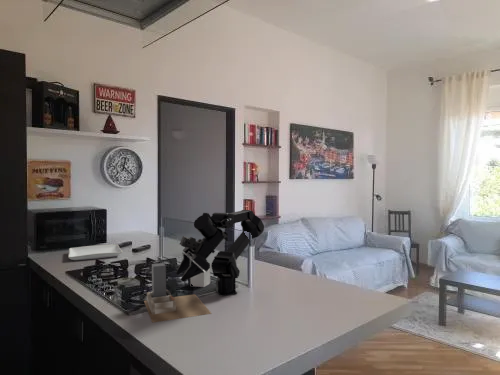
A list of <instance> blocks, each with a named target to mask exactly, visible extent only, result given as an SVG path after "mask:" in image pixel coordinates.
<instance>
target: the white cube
mask: <svg viewBox="0 0 500 375" xmlns="http://www.w3.org/2000/svg"><path fill="white" fill-rule="evenodd" d="M203 271H204V273H200V274H198V275H196V276H194V277H191V278H189V279H190V285H191V284H192V285H193V286H192V287H198V288H199V287H201V288H205V287H206V286H208V285H210V284H211V268H209V270H208V271H207V272H206V271H205V270H204V269H203Z"/></svg>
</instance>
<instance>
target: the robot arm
mask: <svg viewBox="0 0 500 375" xmlns="http://www.w3.org/2000/svg"><path fill="white" fill-rule="evenodd" d="M237 223H240V226H241V229H242V232H240V234H239V235H238V237H237V238H236V239H235V240H234V242H233V243H232V244H231V245H230V246H229V248H228V249H227V250H225V251H224V250H219V251H218V252H217V254H216V255H215V256H213V260H212V262H211V264H210V263H209V261H208V260H207V259H208V258H209V256H210V255H211V254H215V252H216V251H215V249H217V247H218V246H219V245H220V244H221V243H222V242H223V241H226V242H228V241H229V238H228V237H229V233H227V232H226V231H223V230H222V229H225V230H228V229H230V228H232V227H233V226H234V224H237ZM193 226H194V229H196V230H197V231H198V233H199V234H201V235H202V236H203V238H202V239H201V238H198V240H197V238H196V237H195V238H194V237H192V236H190V237H187V236H185V235H182V237H181V240H180V241H179V245H180V246H181V247H184V249H183V250H182V253H181V254H182V260H181V262H180V264H179V266H178V267H177V269H176V271H175V274H176V275H180V274H182V273H183V275H182V276H181V277H180V280H181V281H182V282H185V281H187V280H189V279H190V278H191V277H194V276H196V275H198V274H200V273H204V271H203V269H204V270H205V271H206V272H207V271H208V270H209V269H211V271H212V275H213V277H216V278H217V279H216V281H215V292H216V293H217V294H218V295H219V296H221V297H222V296H223V297H224V296H231V295H237V294H238V292H237V291H236V288H237V287H236V284H237V283H236V282H237V281H236V279H238V277H239V276H240V271H241V270H240V269H239V267H238V265H237V260H238V259H239V258H240V256H241V254H242V253H243V252H244V251H245V249H246V248H247V246H248V245H249V244H250V243H251V241H250V240H249V239H248V237H247V236H246V235H245V233H244V231H247V232H250V233H251V235H252V240H254V239H256V238H259V237H260V236H261V235H262V234H263V232H264V231H265V224H264V223H263V220H262V219H261V218H260V217H259V216H257V215H256V214H255V212H254V211H253V210H251V209H241V210H239V211H233V212H213V213H212V214H211V215H210V214H209V212H203V213H202V214H201V215H199V216H198V217H196V218H195V220H194V222H193Z"/></svg>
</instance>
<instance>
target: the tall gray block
mask: <svg viewBox="0 0 500 375" xmlns="http://www.w3.org/2000/svg"><path fill="white" fill-rule="evenodd" d="M166 269H167V268H166V264H165V262H160V263H159V262H158V263H152V264H151V289H152V290H151V292H152V298H154V297H161V296H166V290H167V276H166V274H167V270H166Z"/></svg>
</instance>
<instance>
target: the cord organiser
mask: <svg viewBox="0 0 500 375" xmlns="http://www.w3.org/2000/svg"><path fill="white" fill-rule="evenodd" d="M143 302H144V305H145V307H146V310H147V313H148V315H149V318H150V321H151V322H152V323H158V322H165V321H171V320H179V319H185V318H193V317H197V316H198V317H199V316H205V315H212V312H211V311H210V310H209V308H208V307H207V306H206V305H205V304H204V302H203V301H202V300H201V299H200V298H199V297H198V296H197V295H196V294H195V293H194V294H187V295H179V296H173V295H172V292H171V291H170V290H168V289H166V296H161V297H154V298H152V291H148V292H146V300H144V301H143Z"/></svg>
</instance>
